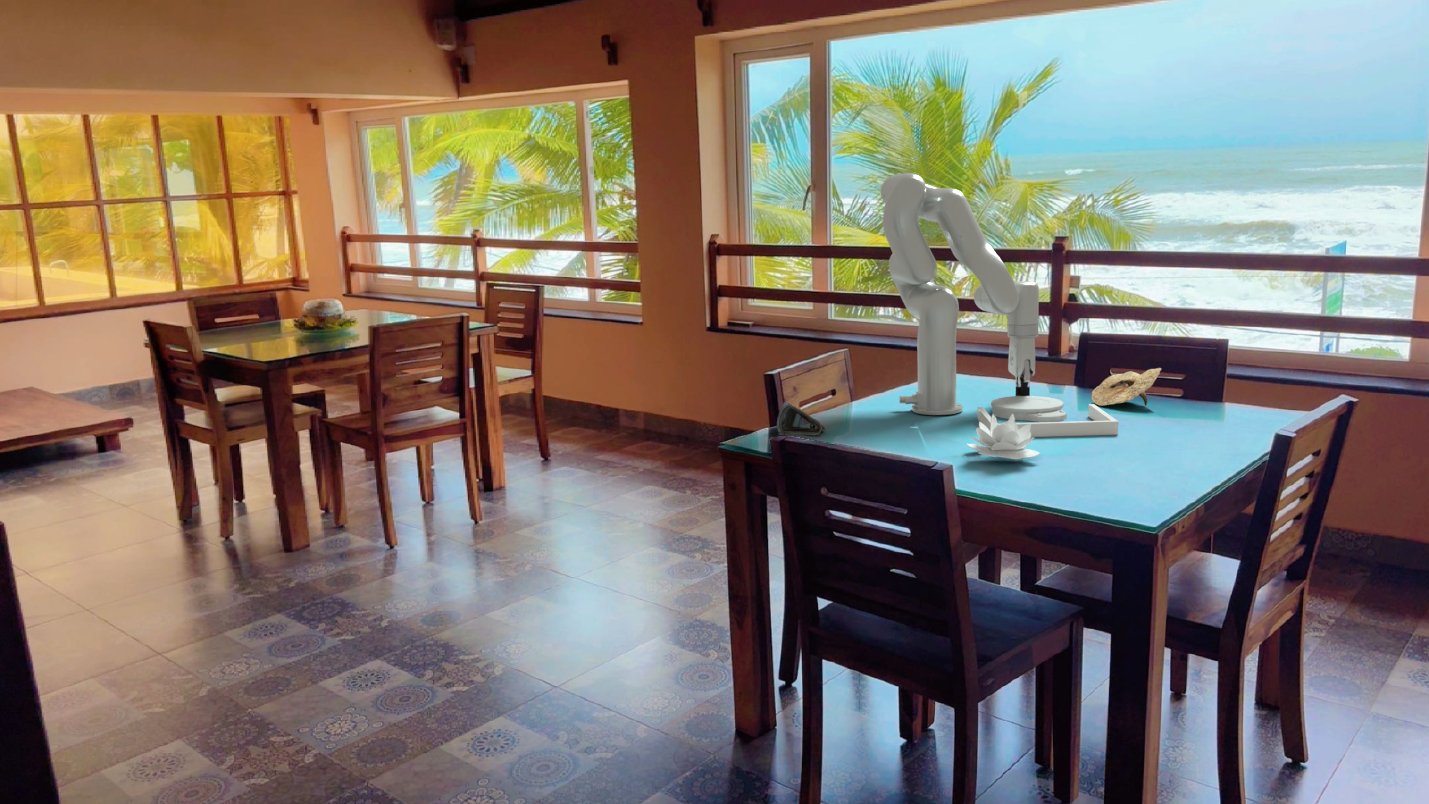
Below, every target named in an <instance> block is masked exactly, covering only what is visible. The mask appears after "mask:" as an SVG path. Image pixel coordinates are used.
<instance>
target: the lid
mask: <svg viewBox="0 0 1429 804" xmlns="http://www.w3.org/2000/svg"><path fill="white" fill-rule="evenodd" d="M990 406H991V408H992V414H993V415H994V416H995V417H996V418H1001V419H1005V420H1009V418H1010V416H1011V415H1012V414H1013V415H1014V419H1015V421H1028V422H1033V423H1037V422H1063V421H1065V420H1066V419H1067V417H1068V416H1067V414H1068V413H1067V412H1065V411H1064V409H1063V408H1064V406H1065V404H1064V401H1062V400H1061V399H1058V398H1053V397H1049V396H1038V395H1030V396H1016V395H1015V396H1014V395H1013V396H1003V397H997V398H996V399H992V400H991V402H990Z"/></svg>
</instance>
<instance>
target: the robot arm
mask: <svg viewBox="0 0 1429 804" xmlns="http://www.w3.org/2000/svg"><path fill="white" fill-rule="evenodd" d="M880 197H881V199H882V202H883V203H884V204H885V205H884V208H883V209H884V210H883V216H882V229H883V232H884V236H885V238H886V240H887V242H888V245H889V247H890V248H889V249H890V250H891V252H892V254H891V255H890V257H889V261H888V269H889V270H888V271H889V273H890V276H891V279H892V281H893V284H894V286H895V288H896V290H897V292H898V293H899V296H900V299H901V301H902V302H903V305H904V306H905V308H906V310H907V311H908V313H909V314H910V315H911V316H912V317H913V318H915V319H917V320H919V323H918V329H917V330H918V331H917V337H916V339H917V341H916V346H917V347H916V350H917V391H915V394H911V395H899V398H898V399H899V401H898V402H899V404H905V405H910V404H912V406H911V411H912V412H913V413H915V414H920V415H924V416H925V415H928V416H947V415H955V414H959V413H961V412H962V411H963V404H960V403H958V402H957V329H958V328H957V327H958V319H959V312H960V307H959V300H958V298H957V296H956V294H955V292H953V290H951V289H950V288H948V287H946V286H944V285H938V284H936V283H935V280H934V278H935V277H936V275H937V271H938V264H937V261H936V258H935V256H934V254H933V252H932V251H931V248H930V246H929V244H928V242H927V240H926V237H925V236H924V233H923V230H922V228H921V224H920V221H919V219H922V220H925V221H929V222H931V223H932V222H933V223H938V226H939V228H940V230H941V232H942V234H943V235H944V238H945V240H946V242H947V244H948V246H949V248H950V250H951V252H952V254H953V256H954V257H955V258H956V260H957V261H958V262H959V263H961V264H962V265H963V266H964V267H966V268H967V269H968V270H969V271H971V273H972V274H973V275H974V276H975V278H976V279H977V280H978V282H979V283H980V284H979V286H978V287H977V288H976V289H975V290H974V293H973V302H974V303H975V305H976V306H977V307H978V309H980V310H982V311H984V312H988V313H990V314H991V313H992V314H996V315H1001V316H1005V315H1007V338H1009V344H1008V346H1009V347H1008V361H1007V362H1008V363H1007V365H1008V366H1007V367H1008V368H1007V370H1008V372H1009V373H1010V374H1011V375H1012V376H1013V377H1015V385H1016V386H1015V396H1031V395H1030V390H1031V389H1030V388H1031V387H1030V386H1031V383H1030V382H1031V377H1033V376H1035V374H1036V341H1035V340H1036V339H1035V338H1038V337H1039V300H1040V299H1039V297H1040V295H1039V291H1040V289H1039V288H1040V287H1039V285H1038V283H1036V282H1034V281H1032V280H1031V281H1029V280H1027V281H1026V280H1024V281H1020V280H1019V281H1014V279H1013V277H1012V275H1011V273H1010V272H1009V270H1008V268H1007V266H1006V264H1005V263H1004V262H1003V260H1002V259H1001V257H1000V256H999V255H998V254H997V253H996V251H995V249H994V248H993V247H992V246H991V245H990V243H989V241H988V240H987V239H986V237H985V235H984V233H983V231H982V229H981V226H980V225H979V222H978V221H977V218H976V216H975V215H974V212H973V210H972V208H971V206H970V203H969V201H968V200H967V198H966V196H965V195H964V193H963V192H962V191H960V190H959V189H956V188H950V187H949V188H948V187H946V188H945V187H942V188H940V187H936V186H932V185H929V184H927V183H926V182H925V180H924V179H923V177H921V176H920V175H918V174H916V173H911V172H905V173H897V174H892V175H890V176H888V177H887V178H886V179H885V180H884V181H883V183H882V184H881V187H880Z"/></svg>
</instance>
